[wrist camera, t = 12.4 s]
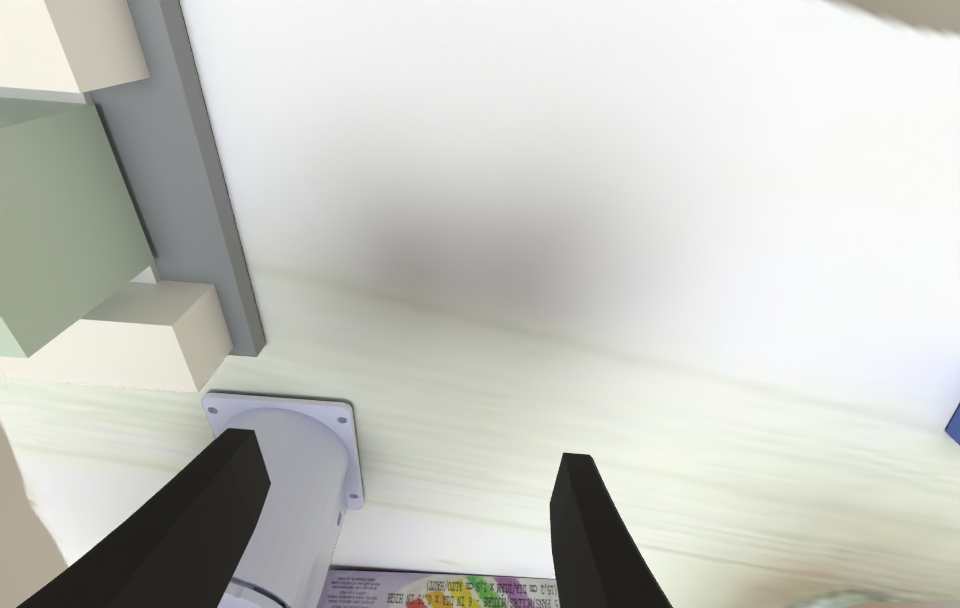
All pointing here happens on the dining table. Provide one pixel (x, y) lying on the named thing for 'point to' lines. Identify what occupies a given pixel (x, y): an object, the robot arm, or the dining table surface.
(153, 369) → the mounted modules
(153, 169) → the mounting board
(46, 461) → the dining table surface
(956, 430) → the walkman
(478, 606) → the cake pan box
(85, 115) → the module block
